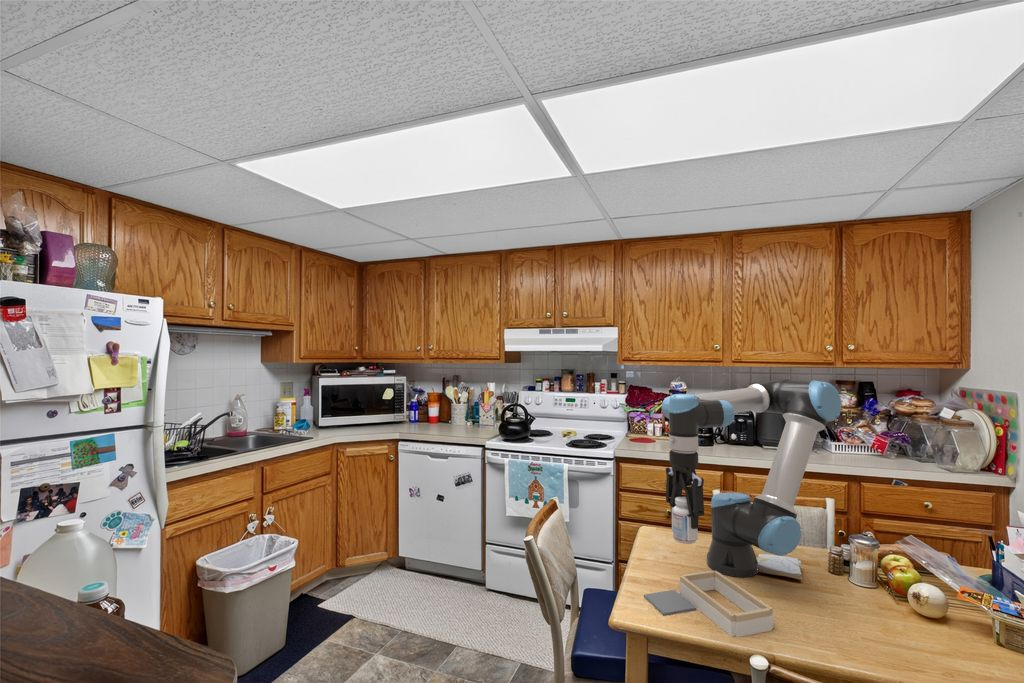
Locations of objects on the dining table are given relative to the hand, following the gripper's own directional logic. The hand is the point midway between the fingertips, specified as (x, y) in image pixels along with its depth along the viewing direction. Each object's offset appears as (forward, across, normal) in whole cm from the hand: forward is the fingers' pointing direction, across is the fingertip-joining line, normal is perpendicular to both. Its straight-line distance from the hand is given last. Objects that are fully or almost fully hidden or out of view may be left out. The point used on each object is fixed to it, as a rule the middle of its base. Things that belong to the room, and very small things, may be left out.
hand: (684, 535), depth 130 cm
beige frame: (+19, +5, +9) cm, 22 cm away
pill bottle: (+2, 0, 0) cm, 2 cm away
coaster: (+19, -3, -3) cm, 20 cm away
